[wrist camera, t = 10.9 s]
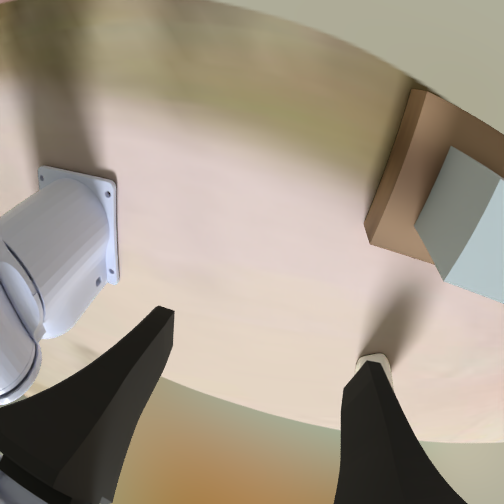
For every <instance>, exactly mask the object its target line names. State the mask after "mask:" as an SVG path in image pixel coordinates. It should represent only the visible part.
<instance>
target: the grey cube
mask: <svg viewBox="0 0 504 504" xmlns="http://www.w3.org/2000/svg"><path fill="white" fill-rule="evenodd" d="M414 227H415V229H416V231H417V232H418V234H419V236H420V238H421V239H422V241H423V243H424V245H425V247H426V249H427V250H428V252H429V254H430V256H431V258H432V260H433V262H434V264H435V265H436V267H437V269H438V271H439V273H440V275H441V277H442V279H443V281H444V282H447V283H450V284H452V285H455V286H458V287H461V288H463V289H466V290H469V291H471V292H474V293H477V294H479V295H482V296H485V297H487V298H490V299H492V300H495V301H498V302H500V303H503V304H504V178H502V177H501V176H499V175H498V174H496V173H495V172H493V171H492V170H490V169H489V168H487V167H486V166H484V165H483V164H481V163H479V162H478V161H476V160H475V159H473V158H471V157H470V156H468V155H466V154H465V153H463V152H461V151H459V150H458V149H456V148H454V147H452V146H451V147H450V149H449V151H448V154H447V156H446V159H445V161H444V163H443V166H442V168H441V170H440V173H439V175H438V177H437V179H436V181H435V184H434V186H433V188H432V190H431V192H430V194H429V197H428V199H427V201H426V203H425V205H424V207H423V209H422V211H421V213H420V215H419V217H418V219H417V221H416V223H415V225H414Z"/></svg>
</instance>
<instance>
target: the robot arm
mask: <svg viewBox="0 0 504 504" xmlns="http://www.w3.org/2000/svg"><path fill="white" fill-rule="evenodd" d="M43 177H44V178H43ZM38 179H39V191H38V192H36V193H34V194H33V195H31V196H30V197H28V198H27V199H25V200H24V201H22V202H21V203H19V204H18V205H16V206H15V207H14V208H12V209H11V210H9V211H8V212H6V213H5V214H4V215H2V216H1V217H0V405H4V404H7V403H10V402H12V401H14V400H16V399H18V398H19V397H20V396H22V395H23V394H24V393H25V392H26V391H27V390H28V389H29V388H30V386H31V385H32V384H33V382H34V381H35V379H36V377H37V375H38V373H39V370H40V366H41V361H42V352H41V348H40V345H39V343H38V342H39V341H40V340H41V339H51V338H55V337H58V336H60V335H62V334H64V333H66V332H67V331H69V330H70V329H71V328H72V327H73V326H74V325H75V324H76V322H77V321H78V320H79V318H80V317H81V316H82V314H83V313H84V312H85V310H86V309H87V308H88V306H89V305H90V304H91V303H92V301H93V300H94V299H95V297H96V296H97V295H98V293H99V292H100V291H101V290H102V288H103V287H104V286H105V285H106V283H107V282H108V283H110V284H113V285H116V284H117V283H118V282H119V270H118V254H117V232H116V185H115V183H114V182H113V181H112V180H109V179H105V178H100V177H96V176H91V175H87V174H82V173H78V172H73V171H68V170H64V169H59V168H54V167H49V166H44V165H43V166H41V167H39V168H38ZM108 191H109V192H110V194H111V196H110V195H109V194H108ZM174 312H175V311H173V310H170V309H167V308H164V307H161V306H157V307H155V308H154V309H153V310H152V311H151V312H150V313H149V314H148V315H147V316H146V317H145V318H144V319H143V320H142V321H141V322H140V323H139V324H138V325H137V326H136V327H135V328H134V329H133V330H132V331H130V332H129V333H128V334H127V335H126V336H125V337H123V338H122V339H121V340H120V341H119V342H118V343H117V344H115V345H114V346H113V347H112V348H110V349H109V350H108V351H106V352H105V353H104V354H103V355H101V356H100V357H99V358H97V359H96V360H95V361H93V362H92V363H90V364H89V365H88V366H86V367H85V368H83V369H82V370H80V371H78V372H77V373H75V374H74V375H72V376H70V377H69V378H67V379H65V380H63V381H62V382H60V383H58V384H56V385H54V386H53V387H51V388H49V389H46V390H44V391H42V392H40V393H38V394H36V395H33V396H31V397H29V398H27V399H24V400H21V401H18V402H16V403H13V404H10V405H7V406H4V407H1V408H0V452H2V453H3V456H2V455H0V504H99V503H100V504H110V503H112V502H113V498H114V494H115V490H116V486H117V483H118V479H119V476H120V472H121V469H122V466H123V462H124V459H125V456H126V453H127V450H128V447H129V444H130V441H131V438H132V436H133V433H134V430H135V427H136V425H137V422H138V420H139V418H140V415H141V413H142V411H143V409H144V407H145V405H146V403H147V401H148V400H149V398H150V396H151V394H152V392H153V390H154V388H155V386H156V384H157V382H158V380H159V378H160V376H161V374H162V372H163V370H164V368H165V365H166V363H167V360H168V357H169V355H170V352H171V349H172V346H173V331H174ZM334 504H467V503H466V502H465V501H464V500H463V499H462V498H461V497H460V496H459V495H458V494H457V493H456V492H455V491H454V490H453V489H452V488H451V487H450V486H449V484H448V483H447V482H446V481H445V479H444V478H443V477H442V476H441V475H440V474H439V472H438V470H437V469H436V468H435V466H434V465H433V464H432V462H431V461H430V459H429V458H428V456H427V455H426V453H425V451H424V450H423V448H422V447H421V445H420V443H419V441H418V440H417V438H416V436H415V434H414V432H413V430H412V429H411V427H410V425H409V423H408V421H407V419H406V417H405V415H404V413H403V411H402V408H401V406H400V404H399V402H398V400H397V398H396V396H395V393H394V391H393V389H392V387H391V384H390V382H389V380H388V378H387V376H386V373H385V371H384V369H383V367H382V365H381V363H379V362H374V361H368V360H366V362H365V363H364V364H363V365H362V367H361V368H360V369H359V370H358V372H357V373H356V374H355V375H354V377H353V378H352V379H351V380H350V381H349V383H348V384H347V385H346V386H345V387H344V390H343V398H342V406H341V461H340V472H339V478H338V485H337V490H336V495H335V500H334Z"/></svg>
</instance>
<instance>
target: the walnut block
mask: <svg viewBox="0 0 504 504" xmlns="http://www.w3.org/2000/svg"><path fill="white" fill-rule="evenodd" d="M451 146H452V147H454V148H456V149H458V150H459V151H461V152H463V153H465V154H466V155H468V156H470V157H471V158H473V159H475V160H476V161H478V162H479V163H481V164H483V165H484V166H486V167H487V168H489V169H490V170H492V171H493V172H495V173H496V174H498V175H499V176H501V177H502V178H504V135H503V134H502V133H500V132H499V131H497V130H495V129H494V128H492V127H491V126H489V125H488V124H486V123H485V122H483V121H481V120H479V119H478V118H476V117H475V116H473V115H471V114H469V113H468V112H466V111H464V110H462V109H461V108H459V107H457V106H455V105H453V104H451V103H450V102H448V101H446V100H444V99H442V98H440V97H438V96H436V95H434V94H432V93H430V92H428V91H423V90H417V89H411V92H410V96H409V99H408V102H407V106H406V109H405V112H404V115H403V118H402V122H401V125H400V128H399V131H398V134H397V137H396V140H395V143H394V146H393V148H392V151H391V154H390V157H389V160H388V163H387V165H386V168H385V171H384V174H383V176H382V179H381V182H380V184H379V187H378V189H377V192H376V195H375V197H374V200H373V202H372V205H371V207H370V210H369V212H368V215H367V217H366V219H365V222H364V227H365V230H366V233H367V236H368V240H369V243H370V244H371V245H374V246H377V247H380V248H384V249H387V250H390V251H393V252H397V253H400V254H403V255H406V256H409V257H412V258H415V259H419V260H422V261H425V262H428V263H431V264H434V262H433V260H432V258H431V256H430V254H429V252H428V250H427V249H426V247H425V245H424V243H423V241H422V239H421V238H420V236H419V234H418V232H417V231H416V229H415V227H414V225H415V223H416V221H417V219H418V217H419V215H420V213H421V211H422V209H423V207H424V205H425V203H426V201H427V199H428V197H429V194H430V192H431V190H432V188H433V186H434V184H435V181H436V179H437V177H438V175H439V173H440V170H441V168H442V166H443V163H444V161H445V159H446V156H447V154H448V151H449V149H450V147H451ZM434 265H435V264H434Z"/></svg>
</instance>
